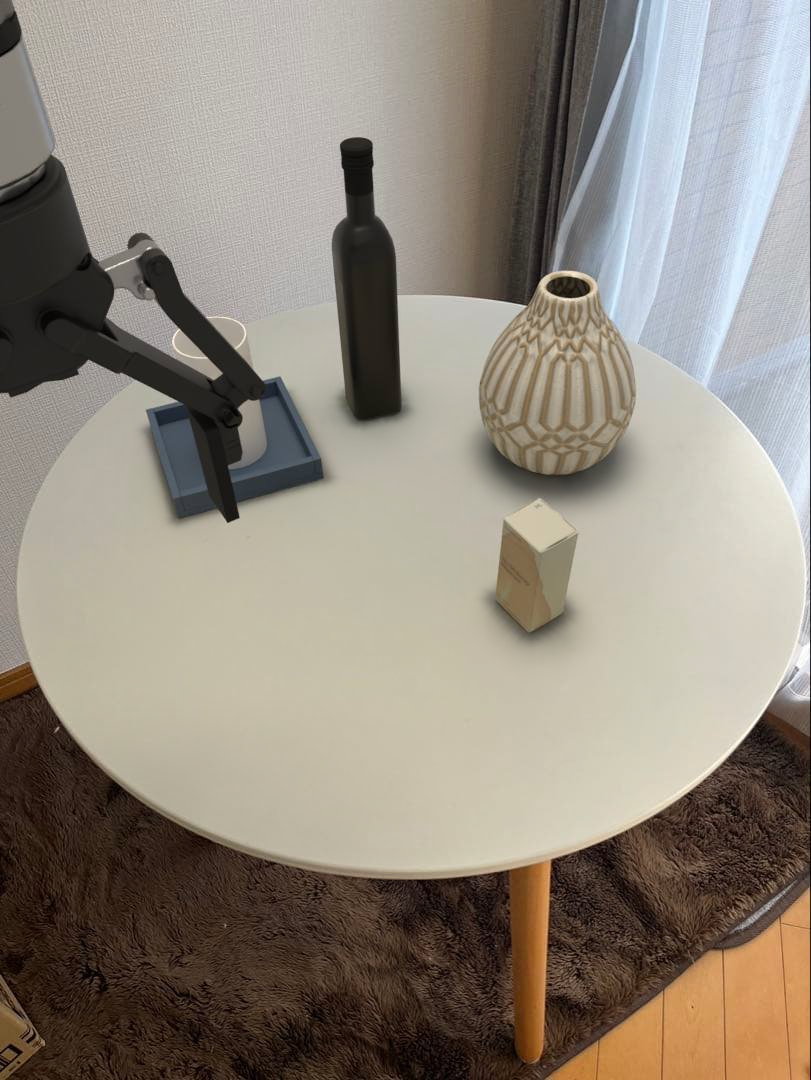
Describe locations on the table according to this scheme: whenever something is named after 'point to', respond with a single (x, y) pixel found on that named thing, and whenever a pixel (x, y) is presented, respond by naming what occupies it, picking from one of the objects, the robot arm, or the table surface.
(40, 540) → the table surface
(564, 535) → the box
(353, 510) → the table surface
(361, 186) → the wine bottle
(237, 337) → the cup
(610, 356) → the vase
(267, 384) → the cup tray
